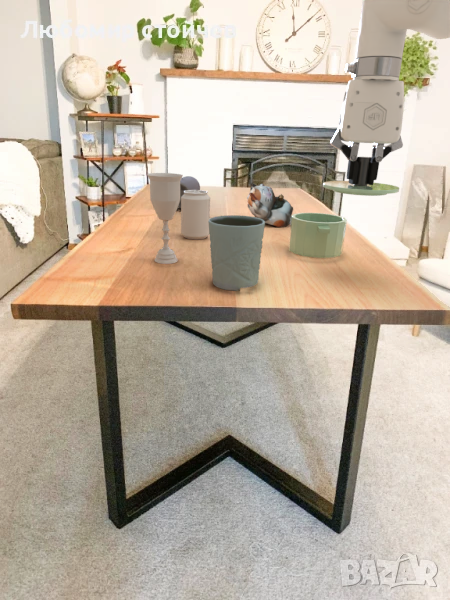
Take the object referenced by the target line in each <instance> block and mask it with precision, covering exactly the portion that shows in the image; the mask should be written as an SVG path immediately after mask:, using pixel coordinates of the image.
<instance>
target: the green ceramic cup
mask: <svg viewBox="0 0 450 600" xmlns="http://www.w3.org/2000/svg"><path fill="white" fill-rule="evenodd" d="M208 223H209V242H210V244H209V247H210V260H211V261H210V263H211V269H212V270H211V276H212V277H211V278H212V284H213V285H214V287H217V288H218V289H221V290H224V291H234V292H240V291H241V289H246V288H251V287H254V286H256V285H257V284H259V278H260V277H259V276H260V275H259V274H260V269H261V267H260V266H261V265H260V264H261V257H262V252H263V251H262V249H263V239H264V233H265V226H266V223H265V221H264V220H263V219H260V218H257V217H255V216H250V215H241V214H239V215H235V214H233V215H232V214H231V215H230V214H229V215H219V216H213V217H210V219H209V221H208Z"/></svg>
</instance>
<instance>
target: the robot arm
mask: <svg viewBox="0 0 450 600" xmlns="http://www.w3.org/2000/svg"><path fill="white" fill-rule="evenodd" d="M360 10H361V11H360V17H359V25H358V34H357V42H356V51H355V59H354V61H353V62H351V63H346V64H345V68H344V71H345V73H349V74H350V75H351V78H352V79H350V80H348V82H347V85H346V88H345V92H344V96H343V99H342V105H341V106H342V107H341V110H340V114H339V121H338V127H337V129H336V131H335V133H334V135H333V137H332V138H331V140H330V142H329V143H330V145H331V146H332V147H334V148H335V149H336V150H339V151H341V153H342V154H343V155H344V156H345V158H346V159H347V160H348V163H347V170H346V180H348V181H349V183H350V184H356V183H357V176H358V168H359V162H358V161H357V160H358V158H357V157H358V156H359V149H360V144H361V143H362V144H372V149H371V156H370V157H371V163H370V170H369V177H368V183H367V184H369V185H373V183H375V181H377V179H378V174H379V166H380V163H382V161H383V159H384V158H386V157H387V156H388V155H389V154H391V153H392V152H395V151H397V150H400V149H402V148H403V146H404V143H403V139H402V136H401V134H402V127H403V119H404V118H403V117H404V107H405V106H404V105H405V100H404V99H405V81H404V80H400V75H401V70H402V69H401V67H402V62H403V55H404V49H405V42H406V38H407V37H406V36H407V30H411V31H414V32H418V33H421V34H424V35H426V36H428V37H430V38H432V39H435V40H436V39H437V40H444V39H449V38H450V0H362V1H361V9H360ZM344 142H347V143H348V144H346V143H344ZM385 144H386V145H385Z"/></svg>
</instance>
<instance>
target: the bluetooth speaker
mask: <svg viewBox="0 0 450 600" xmlns="http://www.w3.org/2000/svg"><path fill="white" fill-rule="evenodd" d="M185 190H201V185H200V182H199V180H198V179H197V178H196V177H194V176H182V178H181V180H180V202H179V205H178V208H177V209H181V197H182V196H183V195H184V191H185Z"/></svg>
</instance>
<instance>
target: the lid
mask: <svg viewBox="0 0 450 600" xmlns="http://www.w3.org/2000/svg"><path fill="white" fill-rule="evenodd" d="M371 157H372V156H363V155H362V156H361V155H357V158H358V160H357V161H358V162H359V168H358V176H357V183H356V184H350V183H349V180H330V181H329V180H328V181H325V182H322V187H323V188H324V189H326V190H331V191H332V192H335V193H339V194H344V195H351V196H365V197H367V196H369V197H376V196H377V197H379V196H386V195H389V194H397V193H399V192H400V187H399V186H396V185H393V184H387V183H380V182H374V183H373V185H369V184H367V183H368V177H369V170H370V163H371Z"/></svg>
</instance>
